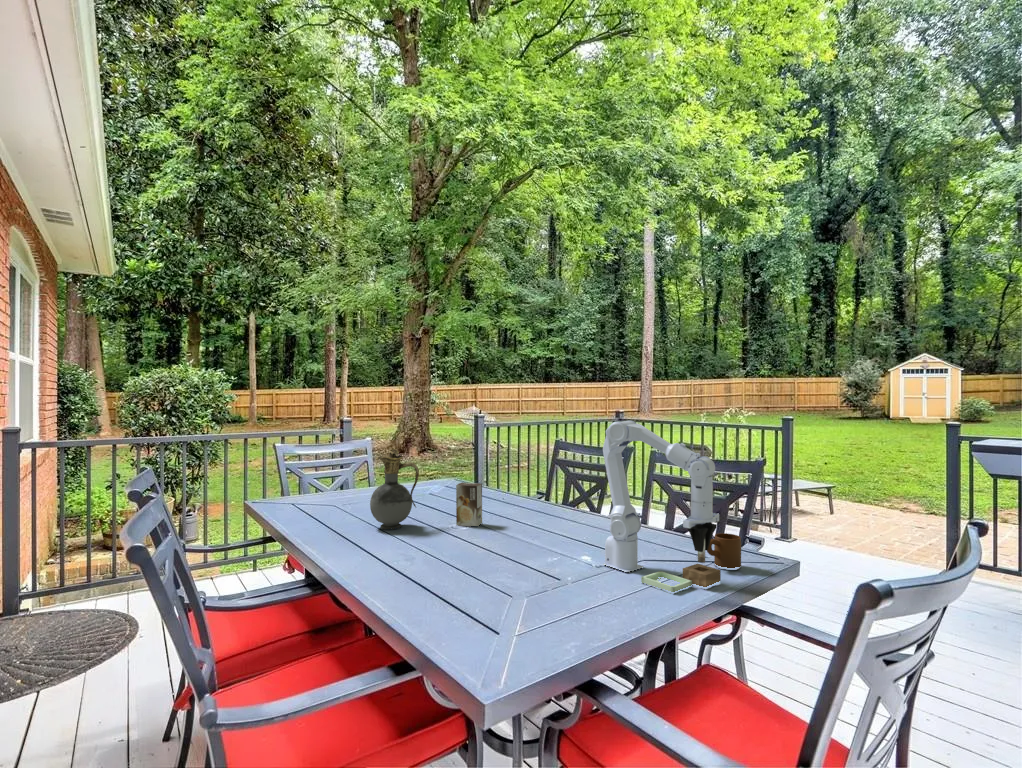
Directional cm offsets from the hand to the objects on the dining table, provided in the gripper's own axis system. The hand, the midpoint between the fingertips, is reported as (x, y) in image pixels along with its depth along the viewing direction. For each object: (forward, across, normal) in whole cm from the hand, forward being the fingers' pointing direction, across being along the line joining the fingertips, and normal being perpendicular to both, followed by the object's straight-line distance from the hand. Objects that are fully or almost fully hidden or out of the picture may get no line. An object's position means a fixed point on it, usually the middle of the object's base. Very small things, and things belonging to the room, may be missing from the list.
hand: (701, 550), depth 156 cm
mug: (+9, +17, +4) cm, 20 cm away
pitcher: (+10, -38, +109) cm, 116 cm away
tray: (+9, -9, +5) cm, 14 cm away
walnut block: (+9, 0, 0) cm, 9 cm away
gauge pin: (+3, 0, 0) cm, 3 cm away
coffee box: (+10, -13, +95) cm, 96 cm away
